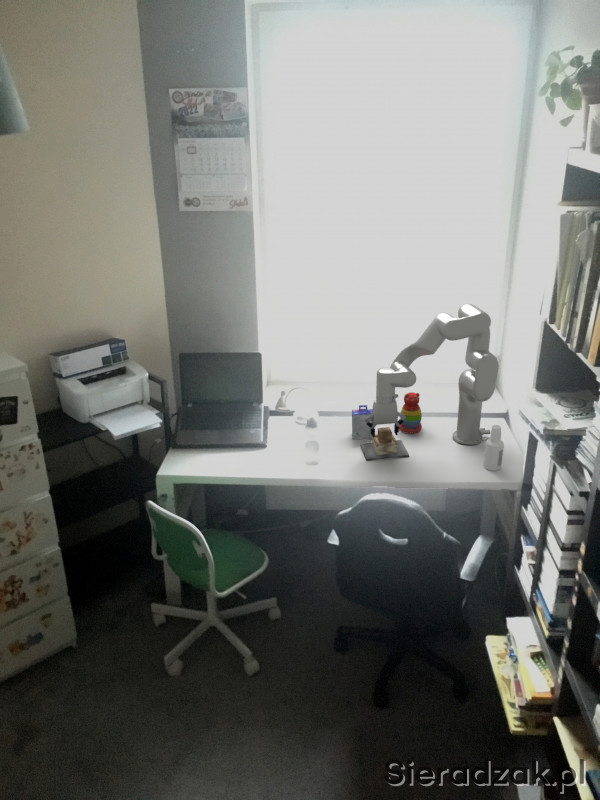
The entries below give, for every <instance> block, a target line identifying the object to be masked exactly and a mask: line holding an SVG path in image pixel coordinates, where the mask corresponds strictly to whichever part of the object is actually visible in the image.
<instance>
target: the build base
mask: <svg viewBox="0 0 600 800" xmlns="http://www.w3.org/2000/svg"><path fill="white" fill-rule="evenodd" d="M377 438H378V433H375V437H373V436H372V439H371V442H363V443H360V444H359V447H360V448H361V451H362V453H363V456H364V459H365V461H366V462H367V461H368V462H369V461H379V460H388V459H389V460H390V459H400V458H401V459H403V458H410V454H409V452H408V450H407V448H406V446H405V444H404V443H403V441H402V439H396V438H395V436H394V434H393V433H392V442H389V443H379V441H378V439H377Z"/></svg>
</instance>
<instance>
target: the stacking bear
mask: <svg viewBox="0 0 600 800" xmlns="http://www.w3.org/2000/svg"><path fill="white" fill-rule="evenodd" d="M403 401H404V404H403V405H402V407H401V411H400V413H402V414H404V415H405V416H406V418H405V419H404V421H403V423H402V424H401V425H400V427H399V431H401V432H402V433H404V434H417V433H419V432H421V430H422V428H423V427H422V423H421V422H422V416H423V415H422V409H421V406H420V405H419V403H420V393H419V392H413V391H412V392H410V391H409V392H408V393H406V394H405V395H404V397H403ZM399 418H400V419H401V417H399Z"/></svg>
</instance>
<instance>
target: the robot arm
mask: <svg viewBox="0 0 600 800" xmlns="http://www.w3.org/2000/svg"><path fill="white" fill-rule="evenodd" d="M457 315H458V316H457V317H458V318H456V317H455V316H453V315H452V314H450V313H447V312H440V313H439V314H437V315H435V317H434V318H433V320H431V322H430V324H429V325H428V326H427V328H425V330H424V331H423V333H422V334H421V336H420V337H419V338H418V339H417V340H416V341H415V342H413V343H411V344H409V345H408V346H407V347H405V348H404V349H402V350H401V351H400V352H399V354H398V355H397V356H396V357H395V359H394V360H393V361H392V362H391V364H390V367H382V368H379V369H378V370H377V371H376V385H375V386H376V389H375V390H376V391H375V392H376V393H375V394H376V395H375V396H376V397H375V399H374V400H373V404H372V409H373V410H372V414H371V415H369V416H368V417H366V418H364V420H365V422H366V424H367V425H368V426H369V427H370V428H371V435H372V436H373V437H375V434H376V427H377V425H378V426H379V425H390V424H394V425H393V426H394V427H393V428H394V429H393V432H394V434H395V436H398V435H399V434H398V433H399V432H400V429H399V427H400V425H401V424H402V423H403V421H404V419H405V418H406V416H405V415H404V414H402V413H401V412H399V411H398V404H397V403H398V402H397V398H399V394H397V393H396V388H402V389H403V388H410V387H413V386H414V385H415V384H416V382H417V376H416V373H414V371H413V370H412V369H411V368H410V366H411V365H412V364H413V363H414V362H415V361H416V360H417V359H418V358H421V357H423V356H433V355H434V354H435V353H436V352H437V351H438V349H440V347H441V346H442V344H443V343H444V342H445V341H446V340H448V341H459V340H464V339H467V338H468V339H467V344H466V350H465V351H466V352H465V358H464V361H465V363H466V366H468V367H469V369H465V370H463V371H462V372H461V373H460V375H459V378H458V393H459V396H458V397H459V398H458V407H457V408H458V409H457V410H458V411H457V420H456V421H457V423H456V430H455V431H454V432H453V433H452V439H453V440H454V441H455V442H457V443H459V444H460V445H465V446H473V445H478V444H479V443H481V442H482V441H483V436H484V435H491V430H490V429H486V427H482V428H481V421H482V420H481V417H482V407H483V402H487V401H489V400H490V399H491V398H492V396H493V395H494V393H495V389H496V385H497V380H498V374H499V368H500V367H499V361H498V360H499V359H498V358H497V357H496V356H495V355H494V353H492V352H490V343H491V341H490V340H491V329H490V327H491V324H492V319H491V317H490V315H489V314H488V312H485V311H484V310H482V309H480V308H479V307H478V306H476V305H474V304H472V303H463V304H462V305H461V306H459V308H458V312H457ZM400 417H401V419H399V418H400ZM370 419H372V420H373V421H372V422H371V423H370V422H369V420H370Z"/></svg>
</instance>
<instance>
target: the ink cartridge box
mask: <svg viewBox="0 0 600 800" xmlns="http://www.w3.org/2000/svg"><path fill="white" fill-rule="evenodd" d="M372 410H373V408H368V404H365V405H358V409H352V410H351V430H352V432H351V437H352V440H365V439H366V440H368V439H371V440H372V435H371V428H370V427H369V426H368V425H367V424H366V422H365V420H364V418H366V417H368V416H369V415H371V414H372ZM372 421H373V420H372V419H370V420H369V422H370V423H371V422H372Z"/></svg>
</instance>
